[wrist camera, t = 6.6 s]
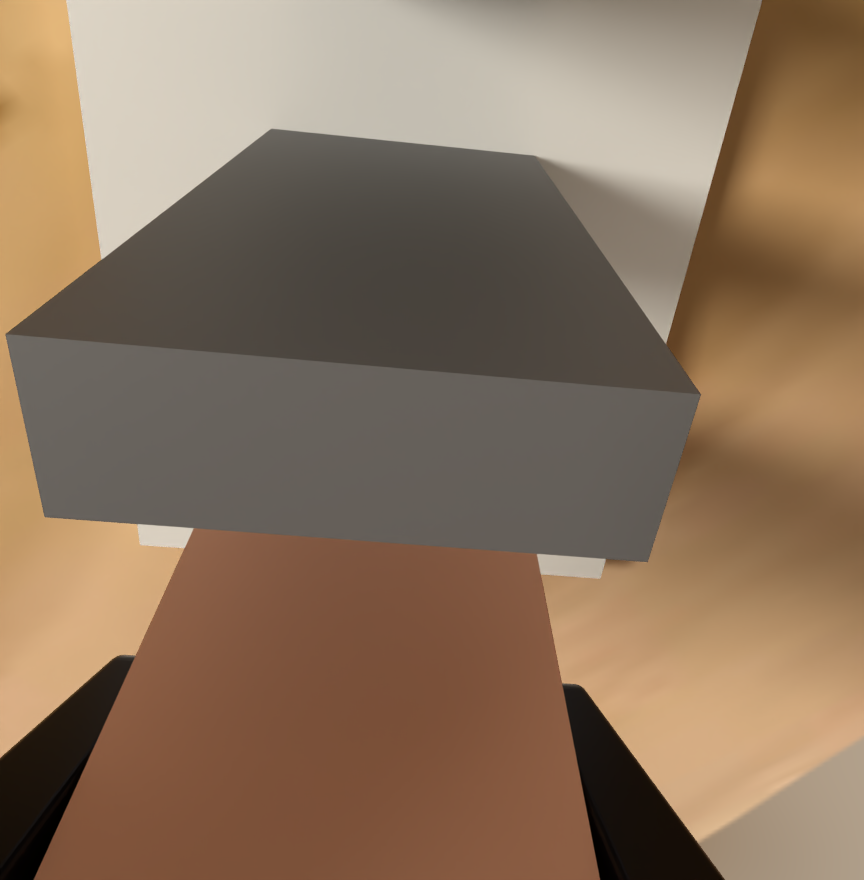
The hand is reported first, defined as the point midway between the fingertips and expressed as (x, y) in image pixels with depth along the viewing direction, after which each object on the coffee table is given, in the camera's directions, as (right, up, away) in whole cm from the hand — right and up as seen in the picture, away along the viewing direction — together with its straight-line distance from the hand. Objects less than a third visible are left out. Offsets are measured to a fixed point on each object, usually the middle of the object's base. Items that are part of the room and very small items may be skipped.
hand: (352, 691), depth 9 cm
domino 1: (0, +8, +5) cm, 10 cm away
